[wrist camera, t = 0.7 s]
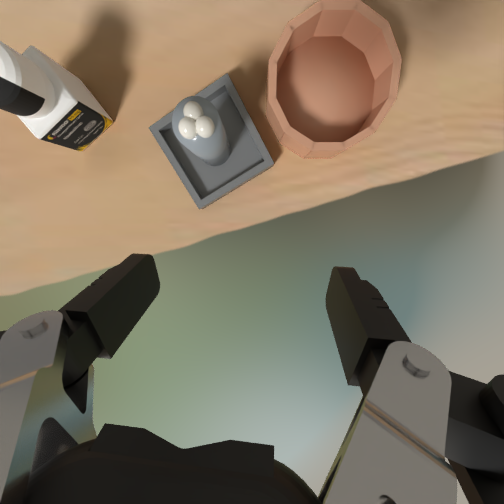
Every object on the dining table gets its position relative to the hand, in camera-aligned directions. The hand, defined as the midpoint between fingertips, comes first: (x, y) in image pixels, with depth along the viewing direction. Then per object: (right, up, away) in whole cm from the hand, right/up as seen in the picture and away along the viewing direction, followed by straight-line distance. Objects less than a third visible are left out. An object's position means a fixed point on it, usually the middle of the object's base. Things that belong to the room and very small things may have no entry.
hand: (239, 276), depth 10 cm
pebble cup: (-5, +17, +22) cm, 28 cm away
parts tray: (-5, +17, +23) cm, 29 cm away
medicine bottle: (-25, +21, +22) cm, 40 cm away
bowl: (+11, +23, +21) cm, 33 cm away
